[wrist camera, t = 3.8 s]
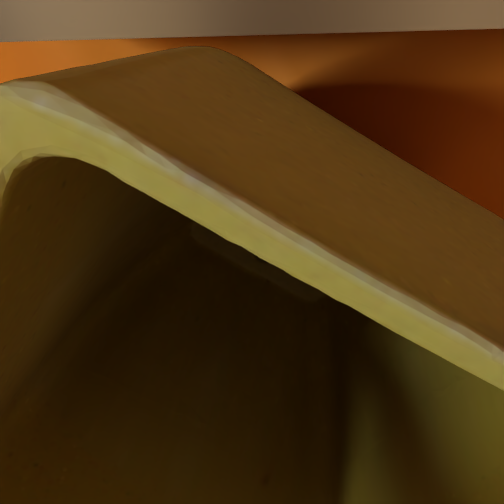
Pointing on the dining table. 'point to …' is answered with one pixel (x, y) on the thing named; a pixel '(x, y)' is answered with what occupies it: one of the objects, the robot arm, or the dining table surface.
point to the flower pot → (235, 299)
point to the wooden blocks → (236, 17)
